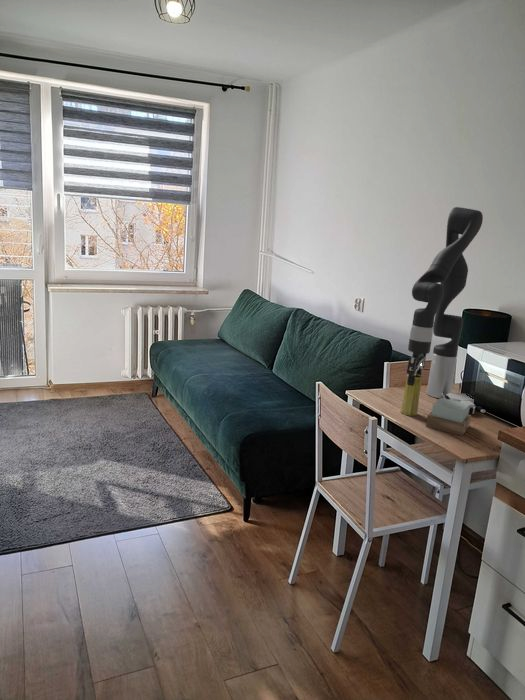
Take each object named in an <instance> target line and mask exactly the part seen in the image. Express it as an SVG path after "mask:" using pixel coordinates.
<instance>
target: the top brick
mask: <svg viewBox="0 0 525 700" xmlns="http://www.w3.org/2000/svg"><path fill="white" fill-rule="evenodd" d="M469 406H470V404H466V403H462V402H458V401H453V400H449V399H444V398H437V400H436V401H435V402H434V403H433V404H432V409H431V412H432V414H431V416H435V417H439V418H443V419H447V420H452V421H456V422H460V423H462V422H463V421H464V419H465V418H466V417H467V416H468V415H469V414H468V411H469Z"/></svg>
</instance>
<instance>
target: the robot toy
mask: <svg viewBox="0 0 525 700" xmlns="http://www.w3.org/2000/svg"><path fill="white" fill-rule="evenodd" d="M466 394H467V393H461V392H451V393H448V394H446V396H445V397H444V395H443V393H442V395H443V397H444V399H449V400H453V401H458V402H462V403H466V404H470V406H469V411H468V415H470V414H469V413H471V414H472V415H473V414H475V412H478V413H484V414H485V413H486V410H485V409H483V407H482V406H480V405H476V404H474V399H475V398H474V399H472V398H470V397H469V396H467V395H466Z"/></svg>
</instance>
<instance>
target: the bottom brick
mask: <svg viewBox="0 0 525 700" xmlns="http://www.w3.org/2000/svg"><path fill="white" fill-rule="evenodd" d="M431 414H432V411H431V412H430V413H429V414H428V415H427V418H426V424H425V427H427V428H429V427H430V429H433V430H437V429H438V431H441V430H442V432H445V433H450V434H452V435H456V436H461V437H462V436H463V435H464V434H465V432H466V431H467V430H468V429H469V427H470V426H471V425H470V424H471V418H472V415H471V414H468V416H467V417H466V418H465V419H464V421H463V422H462V423H460V422H456V421H452V420H447V419H443V418H439V417H435V416H431Z"/></svg>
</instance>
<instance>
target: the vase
mask: <svg viewBox="0 0 525 700" xmlns="http://www.w3.org/2000/svg"><path fill="white" fill-rule="evenodd" d="M408 375H409V374H407V373H406V381H405V387H404V391H403V398H402V402H401V407H400V413H401V414H402V413H403V414H402V415H404V414H405V416H408V415H409V417H416V416H418V415H419V413H418V412H419V405H420V404H419V402H420V394H421V387H422V380H423V376H422V374H421V375H418V374H416V375H415V381H414V385H413V386H411V385H408V384H407V382H408Z"/></svg>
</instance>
